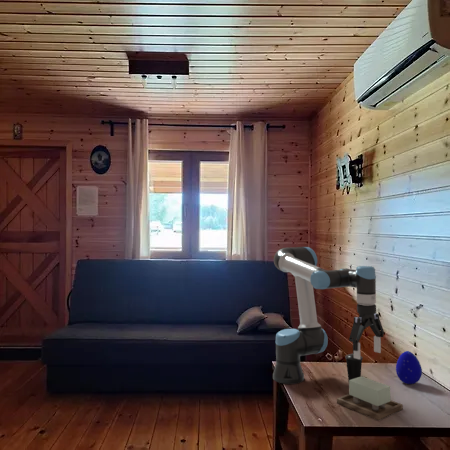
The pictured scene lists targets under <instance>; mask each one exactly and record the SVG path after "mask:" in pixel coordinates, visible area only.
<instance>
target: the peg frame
mask: <svg viewBox="0 0 450 450" xmlns="http://www.w3.org/2000/svg"><path fill="white" fill-rule="evenodd" d="M336 404H338V405H340V406H342V407H345V408H348V409H350V410H353V411H355V412H357V413H359V414H361V415H365V416H367V417H368V418H371V419H374V420H375V421H379V422H380V421H381V420H384V419H386V418H388V417H390V416H392V415H394V414H397V413H398V412H400V411H403V410H404V409H403V408H404V406H403V403H400V402H396V401H394V400H391V401H390V402H388V403H385V404H382V405H380V406H376V405H374V404H371V403H369V402H366V401H364V400H361V399H359V398H356V397H354V396H352V395H349V393H347V394H345V395H342V396H340V397H336Z"/></svg>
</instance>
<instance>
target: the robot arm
mask: <svg viewBox="0 0 450 450" xmlns="http://www.w3.org/2000/svg"><path fill="white" fill-rule="evenodd" d="M273 263H274V266H275V268H277V270H279V271H281V272H283V273H290V274H291V275H293V277H294V282H295V289H296V297H297V306H298V315H299V326H297V328H284V329H281V330H280V331H278V332H276V334H275V343H274V344H275V356H276V357H275V358H276V359H275V362H276V363H275V366H274V369H273V370H274V371H273V373H272V380H273V381H275V382H276V383H279V384H284V385H296V384H300V383H303V382H304V381H305V374H304V371H303V368H302V365H301V357H303V356H309V355H317V354H319V353H323V352H324V351H326V349H327V347H328V341H329V340H328V334H327V333H326V331H325V330H324V328H322V325H321V324H320V323H319V322H318V316H317V307H316V301H315V293H314V289H316V290H326V289H337V288H338V289H339V288H348V287H350V288H355V289H356V303H357V304H356V312H357V314H358V316H354V317H353V323H352V327H351V331H350V335H349V338H348V341H349V342H352V351H353V350H354V358H356V359H360V356H361V342H360V340H361V338H362V335H363V333H364V331H365V329H367V328H368V327H370V329H371V331H372V333H373V334H374V336H373V352H375V353H379V354H382V352H381V351H382V346H381V345H382V344H381V343H382V341H381V340H382V339H381V338H384V335H385V331H384V328H383V326H382V323H381V322H382V321H381V319H380V314H379V313H377V305H376V303H377V297H376V295H377V294H376V291H377V289H376V288H377V287H376V286H377V284H376V283H377V280H376V278H377V276H376V269H375V267H374V266H372V265H371V266H370V265H359V266H356V269H351V268H346V267H345V268H340V269H333V270H331V269H329V270H327V269H323V268H321V267H319V266H317V265H318V257H317V254H316V252H315V251H314V250H313V248H311V247H309V246H299V247H297V246H295V247H283V248H281V249H279V250H277V251H276V252H275V254H274V256H273Z"/></svg>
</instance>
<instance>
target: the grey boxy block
mask: <svg viewBox="0 0 450 450" xmlns="http://www.w3.org/2000/svg"><path fill="white" fill-rule="evenodd" d="M348 389H349V390H348V394H349V395H352V396H354V397H356V398H359V399H361V400H364V401H366V402H369V403H371V404H374V405H376V406H380V405H382V404H385V403H388V402H390V401H391V386H390V385H387V384H385V383H382V382H379V381H376V380H374V379H371V378H368V377H365V376H362V375H361V377H358V378H354V379H351V380H349V381H348Z"/></svg>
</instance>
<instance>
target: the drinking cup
mask: <svg viewBox="0 0 450 450" xmlns="http://www.w3.org/2000/svg"><path fill="white" fill-rule="evenodd" d="M345 360H346V361H345V363H346V371H347V379H348V382H349V380H351V379H354V378H358V377H361V376H362V375H361V374H362V364H363V363H362V362H363V356H362V355H360V359H356V358H354V350H353V349H352V353H350V354H346V355H345Z"/></svg>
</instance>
